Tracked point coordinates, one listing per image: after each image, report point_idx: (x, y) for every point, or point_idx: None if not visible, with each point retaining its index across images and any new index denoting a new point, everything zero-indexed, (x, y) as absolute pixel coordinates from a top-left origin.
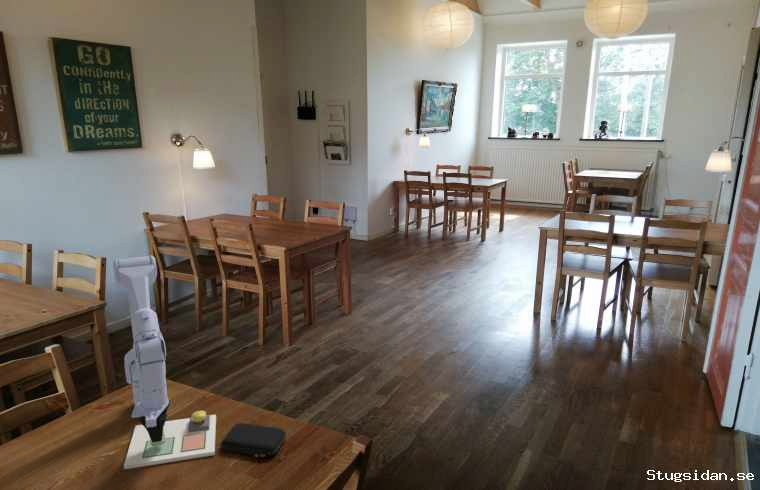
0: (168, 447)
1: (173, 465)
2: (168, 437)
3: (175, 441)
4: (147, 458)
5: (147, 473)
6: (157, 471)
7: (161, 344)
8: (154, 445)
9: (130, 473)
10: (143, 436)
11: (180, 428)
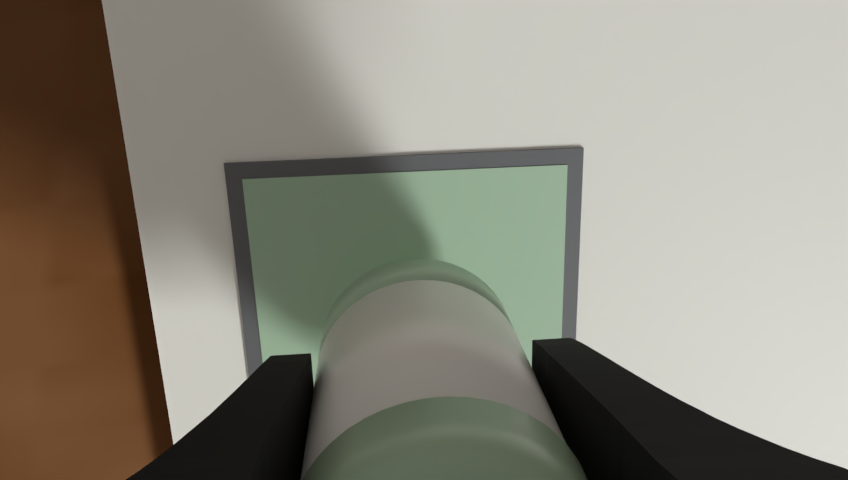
0: None
1: (129, 471)
2: None
3: None
4: (212, 225)
5: (15, 244)
6: (43, 340)
7: None
8: (325, 328)
9: (28, 48)
10: (704, 85)
11: None
